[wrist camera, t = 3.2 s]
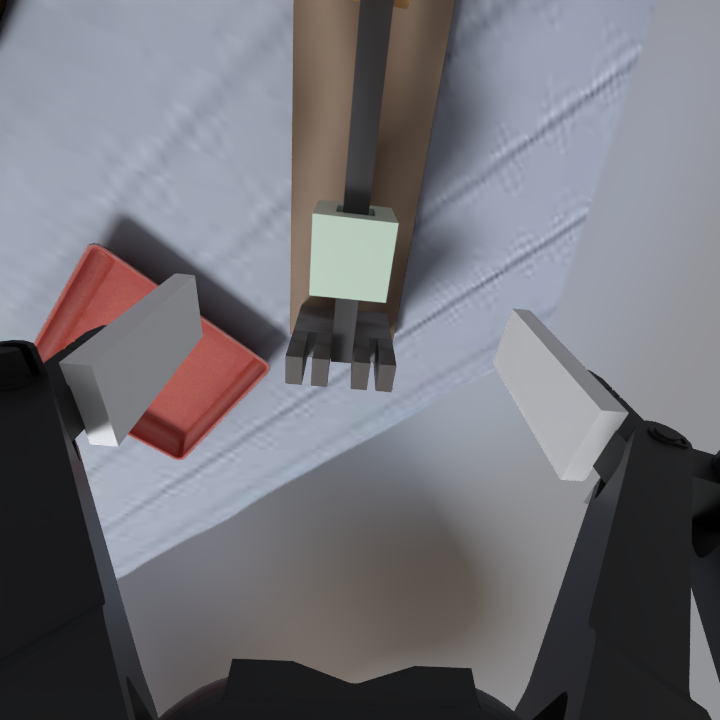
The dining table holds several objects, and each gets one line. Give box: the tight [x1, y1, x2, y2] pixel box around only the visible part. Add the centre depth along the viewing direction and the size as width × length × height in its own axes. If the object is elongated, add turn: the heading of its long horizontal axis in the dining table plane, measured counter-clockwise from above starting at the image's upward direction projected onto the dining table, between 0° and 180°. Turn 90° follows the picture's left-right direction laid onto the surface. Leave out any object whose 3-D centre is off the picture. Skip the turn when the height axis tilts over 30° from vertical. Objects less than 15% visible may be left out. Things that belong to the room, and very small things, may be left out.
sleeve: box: [309, 200, 399, 303], centre depth 24 cm, size 5×5×5 cm
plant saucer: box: [33, 243, 270, 460], centre depth 37 cm, size 18×18×3 cm
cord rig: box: [285, 0, 455, 392], centre depth 24 cm, size 10×30×10 cm, turn 174°
